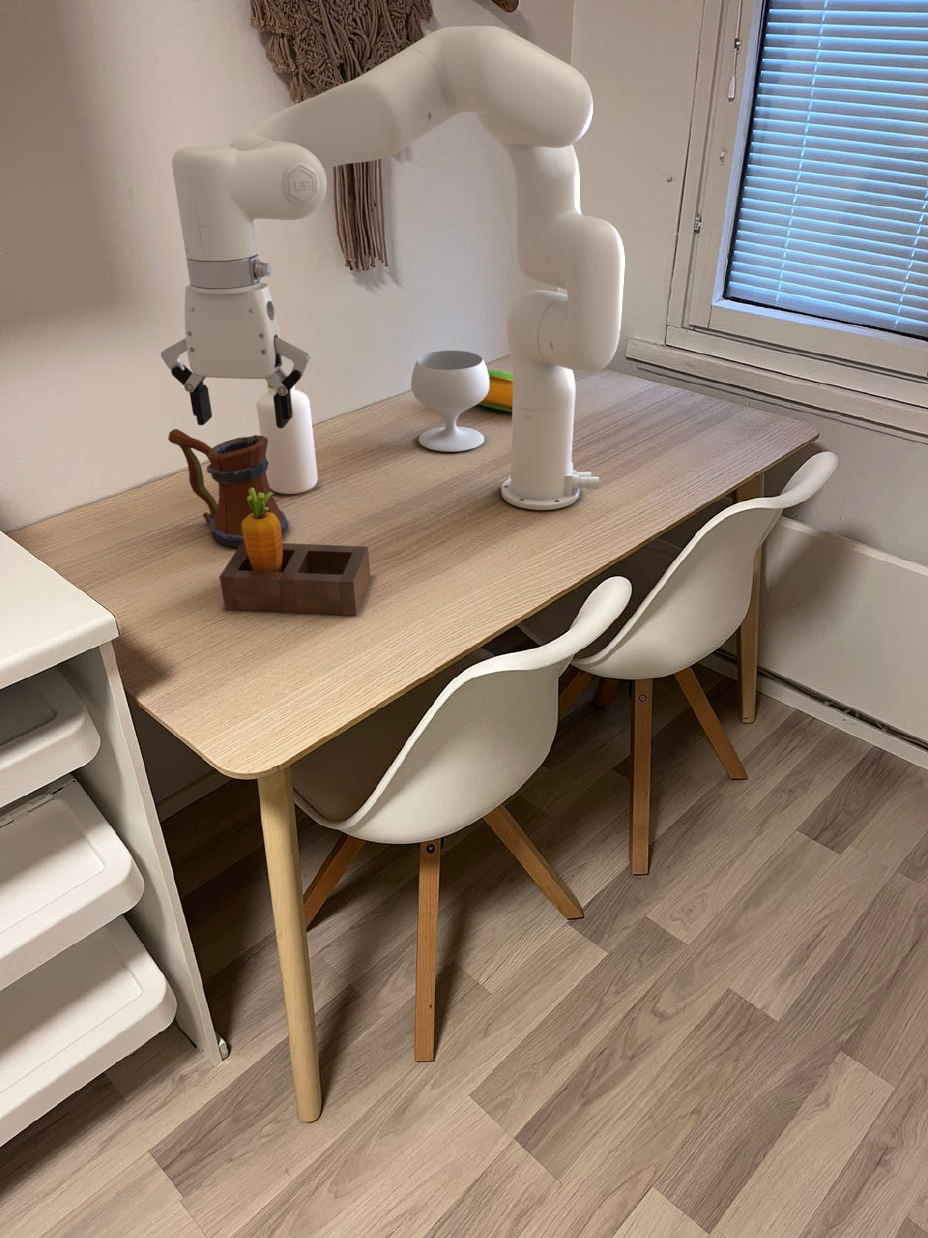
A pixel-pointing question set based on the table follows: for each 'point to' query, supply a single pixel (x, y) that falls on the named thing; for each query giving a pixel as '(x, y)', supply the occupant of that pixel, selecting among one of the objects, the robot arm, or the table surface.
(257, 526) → the carrot
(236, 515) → the mug
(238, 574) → the holder
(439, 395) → the chalice
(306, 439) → the white bottle
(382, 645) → the table surface
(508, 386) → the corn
